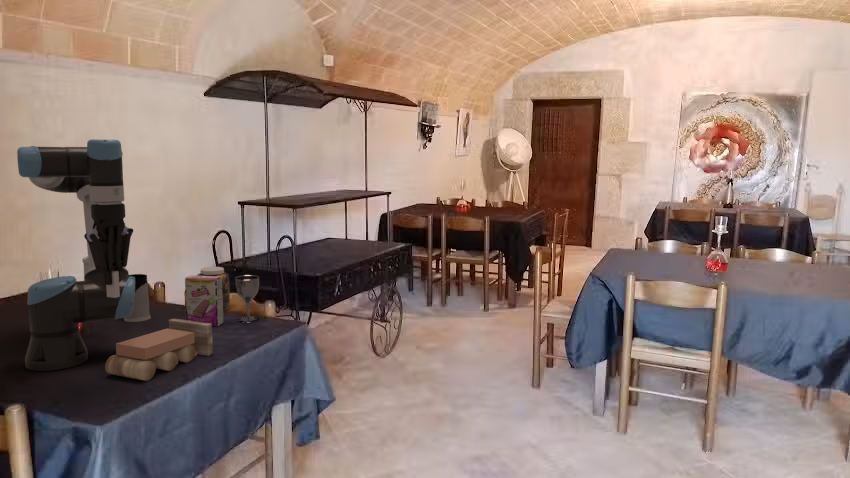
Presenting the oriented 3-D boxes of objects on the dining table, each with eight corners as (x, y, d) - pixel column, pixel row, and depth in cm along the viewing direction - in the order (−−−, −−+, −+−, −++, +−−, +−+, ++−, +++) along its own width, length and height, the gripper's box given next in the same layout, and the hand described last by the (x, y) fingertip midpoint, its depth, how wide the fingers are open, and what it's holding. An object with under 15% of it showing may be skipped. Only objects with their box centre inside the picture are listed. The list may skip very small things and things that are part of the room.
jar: (191, 312, 231) (190, 271, 228) (203, 304, 242) (202, 265, 240) (224, 312, 230) (222, 272, 228) (234, 304, 242) (233, 266, 240)
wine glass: (235, 317, 224) (234, 275, 222) (258, 315, 227) (257, 274, 225) (237, 323, 217) (235, 280, 215) (261, 321, 219) (260, 279, 217)
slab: (145, 359, 164) (145, 348, 164) (116, 354, 168) (115, 343, 167) (194, 342, 181) (194, 332, 180) (167, 338, 184) (166, 328, 184)
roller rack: (144, 384, 162) (142, 349, 160) (102, 376, 167) (100, 343, 165) (212, 353, 186) (211, 323, 184) (174, 347, 191) (173, 318, 189)
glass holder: (141, 322, 217) (139, 279, 214) (103, 320, 219) (100, 277, 217) (156, 315, 225) (154, 274, 223) (119, 313, 227) (117, 272, 225)
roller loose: (185, 366, 178) (180, 352, 176) (155, 361, 182) (149, 347, 179) (197, 355, 182) (192, 341, 180) (166, 350, 186) (161, 336, 183)
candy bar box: (186, 325, 213) (183, 277, 211) (192, 321, 218) (190, 274, 216) (218, 327, 212) (216, 278, 210) (224, 323, 217) (222, 275, 215)
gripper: (96, 205, 149) (103, 304, 152) (140, 201, 161) (145, 292, 164) (73, 204, 152) (80, 300, 155) (117, 200, 164) (122, 289, 167)
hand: (113, 296), depth 160 cm, fingers closed
